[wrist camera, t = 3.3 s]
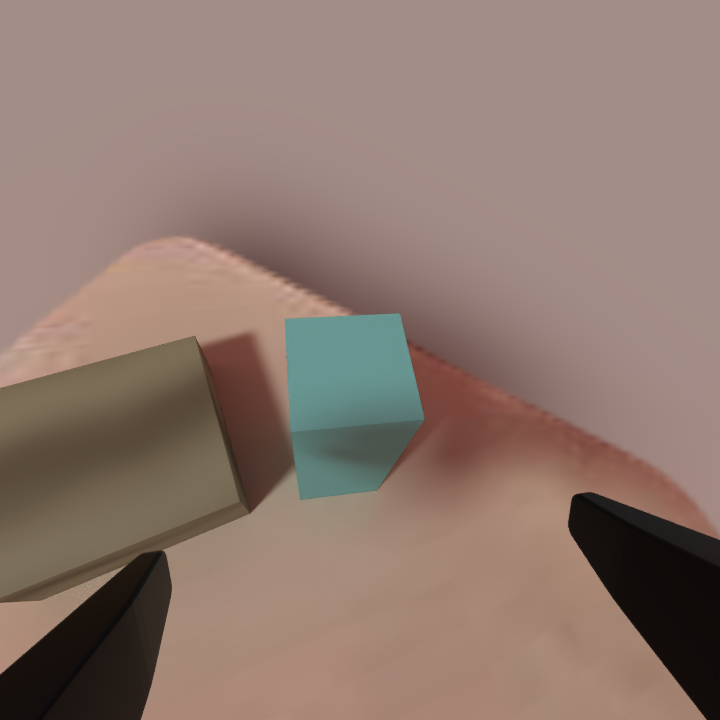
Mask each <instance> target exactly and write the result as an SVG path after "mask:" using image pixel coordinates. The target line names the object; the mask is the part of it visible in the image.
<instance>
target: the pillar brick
mask: <svg viewBox="0 0 720 720" xmlns="http://www.w3.org/2000/svg"><path fill="white" fill-rule="evenodd" d="M285 332H286V352H287V372H288V393H289V413H290V433H291V439H292V446H293V453H294V460H295V467H296V474H297V480H298V487H299V494H300V500H302V499H311V498H319V497H327V496H335V495H343V494H351V493H359V492H367V491H376V490H378V488H379V487H380V485H381V484H382V482H383V481H384V479H385V478H386V476H387V475H388V473H389V472H390V470H391V469H392V467H393V466H394V464H395V463H396V461H397V460H398V459H399V457H400V456H401V454H402V453H403V451H404V450H405V448H406V447H407V445H408V444H409V442H410V441H411V439H412V438H413V436H414V435H415V433H416V432H417V430H418V429H419V427H420V426H421V425H422V423H423V422H424V420H425V418H424V413H423V409H422V405H421V401H420V396H419V392H418V388H417V384H416V380H415V375H414V371H413V367H412V363H411V358H410V354H409V350H408V346H407V342H406V337H405V333H404V329H403V325H402V320H401V316H400V314H379V315H358V316H336V317H315V318H294V319H285Z"/></svg>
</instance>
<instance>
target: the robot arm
mask: <svg viewBox="0 0 720 720" xmlns="http://www.w3.org/2000/svg"><path fill="white" fill-rule="evenodd" d="M568 527H569V531H570V533H571V535H572V537H573V539H574V540H575V542H576V543H577V545H578V546H579V548H580V549H581V551H582V552H583V554H584V555H585V557H586V558H587V560H588V562H589V563H590V565H591V566H592V568H593V569H594V571H595V572H596V574H597V575H598V577H599V578H600V580H601V581H602V583H603V584H604V586H605V587H606V589H607V590H608V592H609V593H610V595H611V596H612V598H613V599H614V600H615V602H616V603H617V605H618V606H619V607H620V609H621V610H622V611H623V612H624V614H625V615H626V616H627V618H628V619H629V620H630V622H631V623H632V624H633V625H634V627H635V628H636V629H637V631H638V632H639V633H640V634H641V636H642V637H643V638H644V640H645V641H646V642H647V643H648V645H649V646H650V647H651V649H652V650H653V651H654V652H655V654H656V655H657V656H658V658H659V659H660V660H661V661H662V663H663V664H664V665H665V667H666V668H667V669H668V671H669V672H670V673H671V674H672V676H673V677H674V678H675V680H676V681H677V682H678V683H679V685H680V686H681V687H682V689H683V690H684V691H685V692H686V694H687V695H688V696H689V698H690V699H691V700H692V701H693V703H694V704H695V705H696V707H697V708H698V709H699V710H700V712H701V713H702V714H703V716H704V717H705V718H706V720H720V540H718V539H716V538H713V537H710V536H708V535H705V534H702V533H700V532H697V531H694V530H692V529H689V528H686V527H684V526H681V525H678V524H676V523H673V522H670V521H668V520H665V519H662V518H660V517H657V516H654V515H651V514H649V513H646V512H643V511H641V510H638V509H635V508H633V507H630V506H627V505H625V504H622V503H619V502H617V501H614V500H611V499H609V498H606V497H603V496H601V495H598V494H595V493H592V492H587V493H579V494H575V495H574V496H573V497H572V500H571V507H570V514H569V520H568ZM171 592H172V583H171V578H170V572H169V567H168V562H167V557H166V554H165V552H164V551H162V550H158V551H151V552H144V553H141V554H140V555H138V556H137V557H136V558H135V559H134V560H132V561H131V562H130V563H129V564H128V565H127V566H125V567H124V568H123V569H122V570H121V571H120V572H118V573H117V574H116V575H115V576H114V577H113V578H111V579H110V580H109V581H108V582H107V583H106V584H105V585H103V586H102V587H101V588H100V589H99V590H98V591H96V592H95V593H94V594H93V595H92V596H91V597H89V598H88V599H87V600H86V601H85V602H84V603H83V604H81V605H80V606H79V607H78V608H77V609H76V610H74V611H73V612H72V613H71V614H70V615H69V616H67V617H66V618H65V619H64V620H63V621H62V622H60V623H59V624H58V625H57V626H56V627H55V628H54V629H52V630H51V631H50V632H49V633H48V634H47V635H45V636H44V637H43V638H42V639H41V640H40V641H38V642H37V643H36V644H35V645H34V646H33V647H31V648H30V649H29V650H28V651H27V652H26V653H25V654H23V655H22V656H21V657H20V658H19V659H18V660H16V661H15V662H14V663H13V664H12V665H11V666H9V667H8V668H7V669H6V670H5V671H4V672H3V673H1V674H0V720H141V717H142V714H143V711H144V708H145V705H146V701H147V698H148V695H149V691H150V688H151V684H152V680H153V676H154V672H155V667H156V663H157V658H158V654H159V649H160V645H161V640H162V635H163V631H164V626H165V622H166V617H167V613H168V608H169V603H170V599H171Z"/></svg>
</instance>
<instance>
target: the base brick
mask: <svg viewBox="0 0 720 720" xmlns="http://www.w3.org/2000/svg"><path fill="white" fill-rule="evenodd" d="M248 514H250V510H249V507H248V503H247V500H246V496H245V493H244V489H243V485H242V482H241V478H240V475H239V471H238V468H237V464H236V461H235V457H234V453H233V450H232V446H231V443H230V439H229V436H228V432H227V428H226V425H225V421H224V418H223V414H222V411H221V407H220V403H219V400H218V396H217V393H216V389H215V386H214V382H213V378H212V375H211V371H210V368H209V365H208V363H207V360H206V358H205V356H204V354H203V352H202V350H201V348H200V346H199V344H198V342H197V339H196V337H195V336H192V337H188V338H185V339H181V340H177V341H174V342H170V343H166V344H162V345H159V346H155V347H151V348H148V349H144V350H140V351H136V352H133V353H129V354H125V355H122V356H118V357H114V358H110V359H107V360H103V361H99V362H96V363H92V364H88V365H84V366H81V367H77V368H73V369H70V370H66V371H62V372H58V373H55V374H51V375H47V376H44V377H40V378H36V379H32V380H29V381H25V382H21V383H18V384H14V385H10V386H6V387H3V388H0V603H4V602H22V601H41V600H43V599H46V598H48V597H51V596H53V595H55V594H58V593H60V592H63V591H65V590H67V589H70V588H72V587H75V586H77V585H79V584H82V583H84V582H87V581H89V580H91V579H94V578H96V577H99V576H101V575H103V574H106V573H108V572H111V571H113V570H115V569H118V568H120V567H123V566H125V565H127V564H129V563H130V562H131V561H132V560H134V559H135V558H136V557H137V556H138V555H140V554H141V553H144V552H151V551H158V550H164V549H166V548H168V547H171V546H173V545H176V544H178V543H180V542H183V541H185V540H188V539H190V538H192V537H195V536H197V535H200V534H202V533H204V532H207V531H209V530H212V529H214V528H216V527H219V526H221V525H224V524H226V523H229V522H231V521H233V520H236V519H238V518H241V517H243V516H245V515H248Z"/></svg>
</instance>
